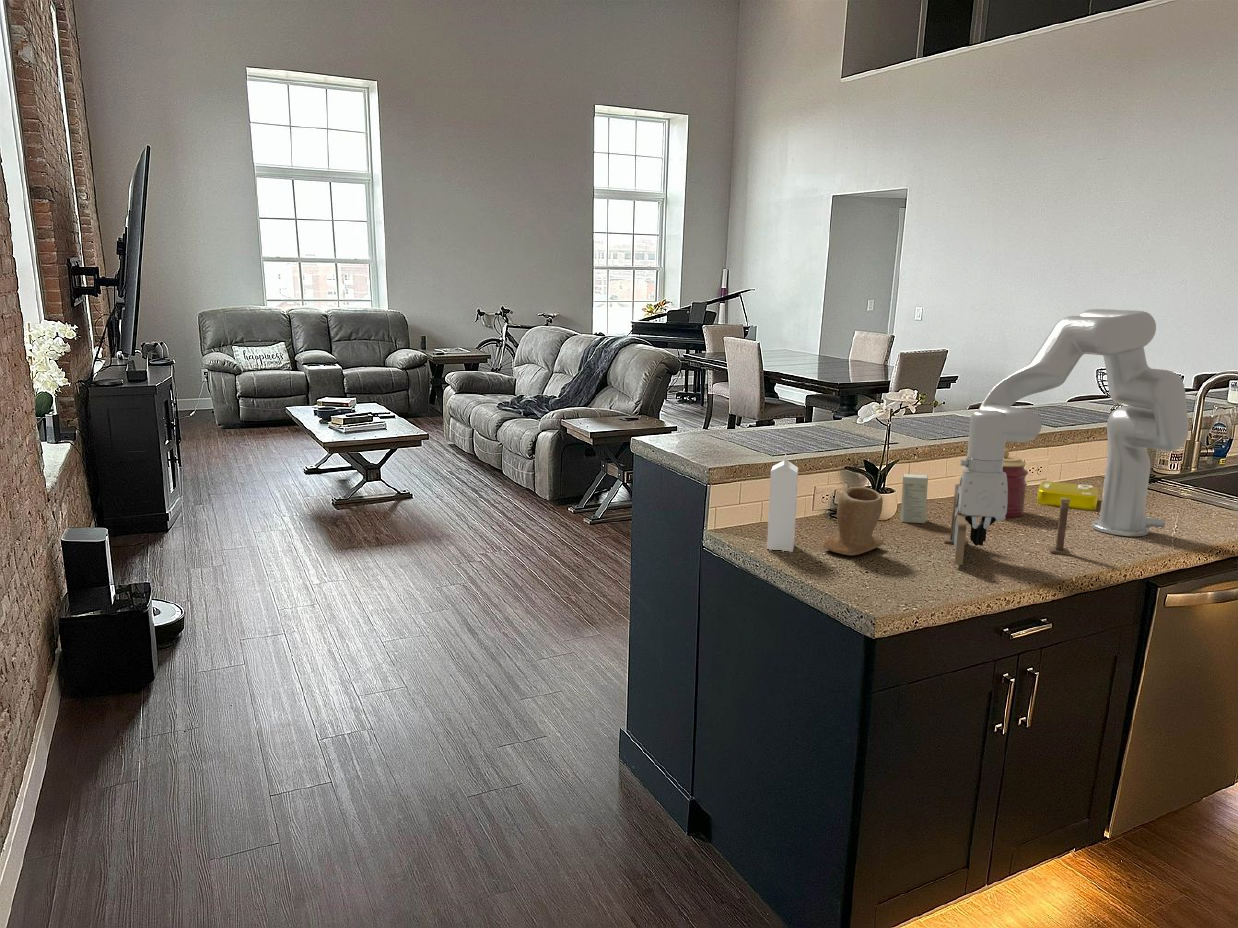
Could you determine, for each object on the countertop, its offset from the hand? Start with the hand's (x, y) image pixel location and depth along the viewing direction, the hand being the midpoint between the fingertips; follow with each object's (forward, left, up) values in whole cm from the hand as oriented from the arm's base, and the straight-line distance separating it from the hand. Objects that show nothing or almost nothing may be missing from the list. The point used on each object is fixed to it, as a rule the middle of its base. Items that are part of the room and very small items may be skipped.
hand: (977, 543), depth 194 cm
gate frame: (-7, -10, -3) cm, 13 cm away
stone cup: (+26, +6, -3) cm, 27 cm away
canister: (-8, -44, -3) cm, 45 cm away
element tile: (-28, -64, -4) cm, 70 cm away
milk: (+43, +10, -3) cm, 44 cm away
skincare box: (+14, -26, -3) cm, 30 cm away
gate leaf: (+4, +1, -2) cm, 5 cm away
